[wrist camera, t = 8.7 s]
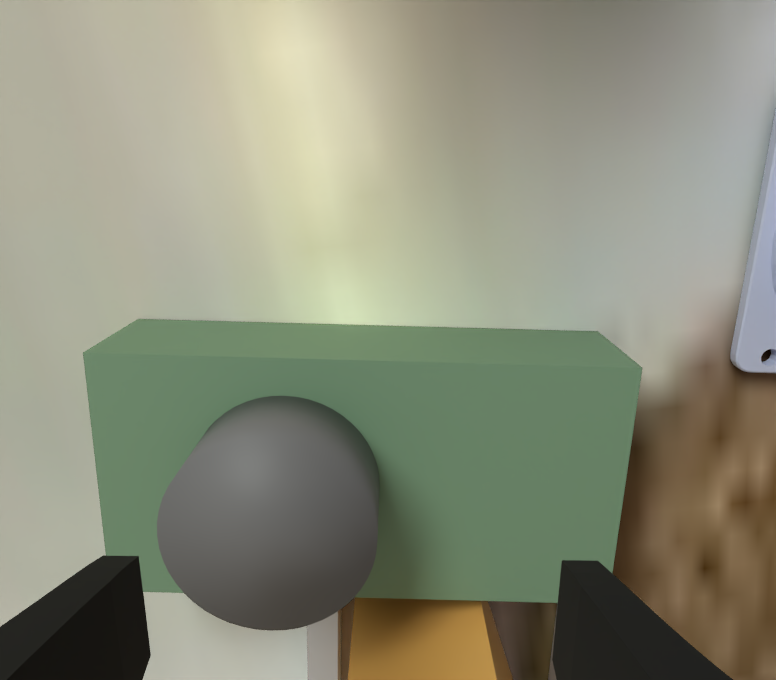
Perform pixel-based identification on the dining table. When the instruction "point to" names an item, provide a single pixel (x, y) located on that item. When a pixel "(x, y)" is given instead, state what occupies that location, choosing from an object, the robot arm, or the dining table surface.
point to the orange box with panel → (425, 641)
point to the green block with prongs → (357, 464)
